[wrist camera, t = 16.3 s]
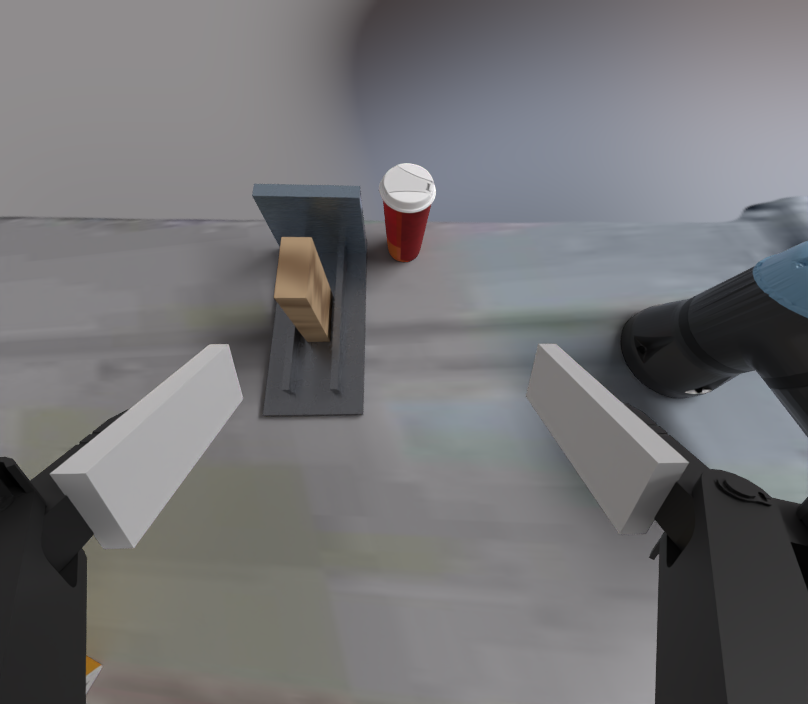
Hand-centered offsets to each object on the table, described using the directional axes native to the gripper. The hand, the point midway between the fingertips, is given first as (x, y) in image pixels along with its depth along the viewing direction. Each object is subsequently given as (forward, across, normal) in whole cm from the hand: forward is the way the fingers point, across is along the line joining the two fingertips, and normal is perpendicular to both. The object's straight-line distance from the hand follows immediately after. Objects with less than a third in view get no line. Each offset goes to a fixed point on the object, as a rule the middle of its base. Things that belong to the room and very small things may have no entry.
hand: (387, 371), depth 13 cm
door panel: (+34, -11, -10) cm, 37 cm away
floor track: (+35, -11, -11) cm, 38 cm away
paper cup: (+45, +2, -1) cm, 45 cm away
